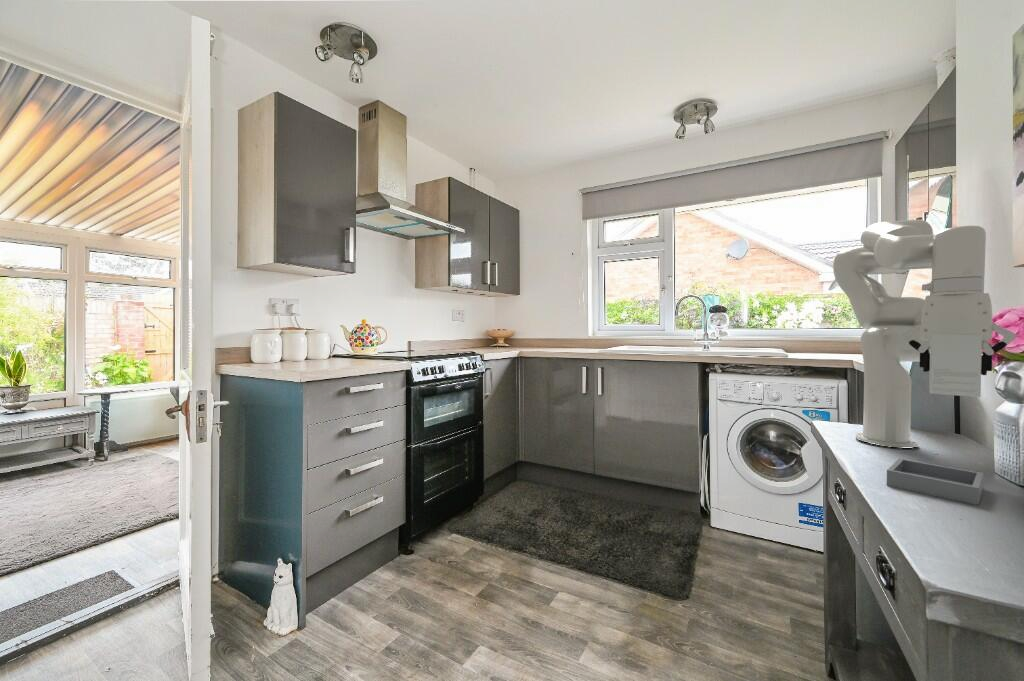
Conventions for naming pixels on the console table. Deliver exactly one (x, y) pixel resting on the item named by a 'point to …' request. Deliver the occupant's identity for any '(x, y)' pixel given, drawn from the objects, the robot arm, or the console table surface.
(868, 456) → the console table surface
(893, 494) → the console table surface
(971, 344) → the supplement box
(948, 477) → the holder tray
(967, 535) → the console table surface
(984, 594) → the console table surface
